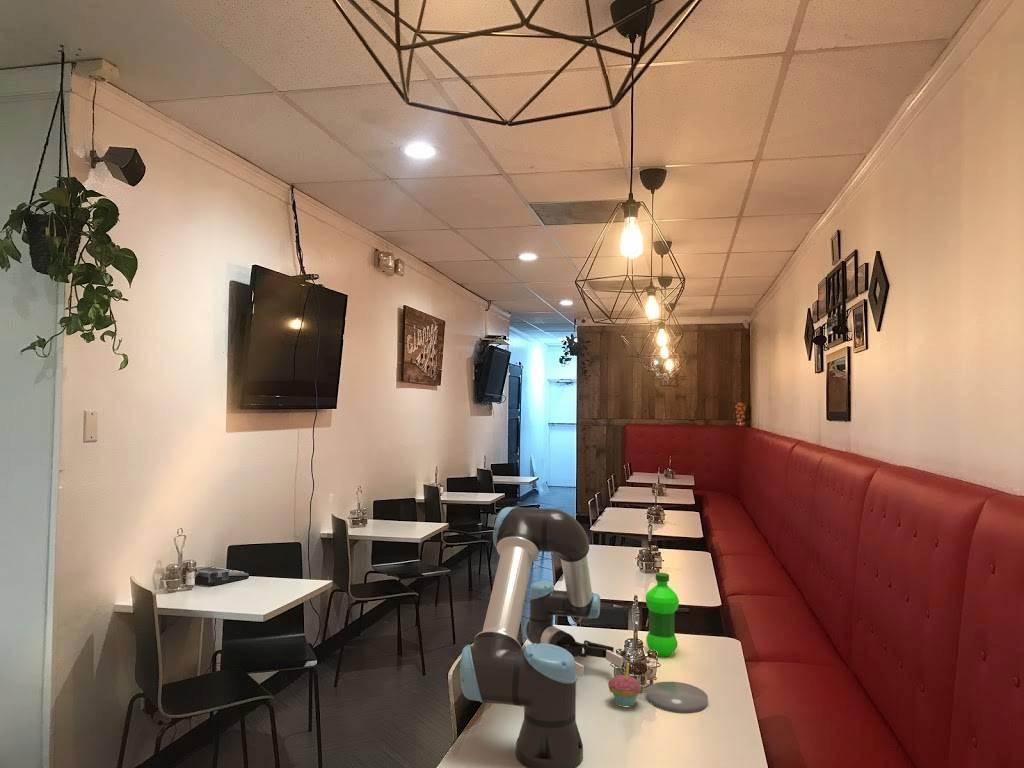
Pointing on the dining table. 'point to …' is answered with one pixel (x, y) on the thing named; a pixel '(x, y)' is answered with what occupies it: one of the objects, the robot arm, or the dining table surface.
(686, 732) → the dining table surface
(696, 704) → the slate plate
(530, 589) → the robot arm
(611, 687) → the cupcake
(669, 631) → the plastic bottle
